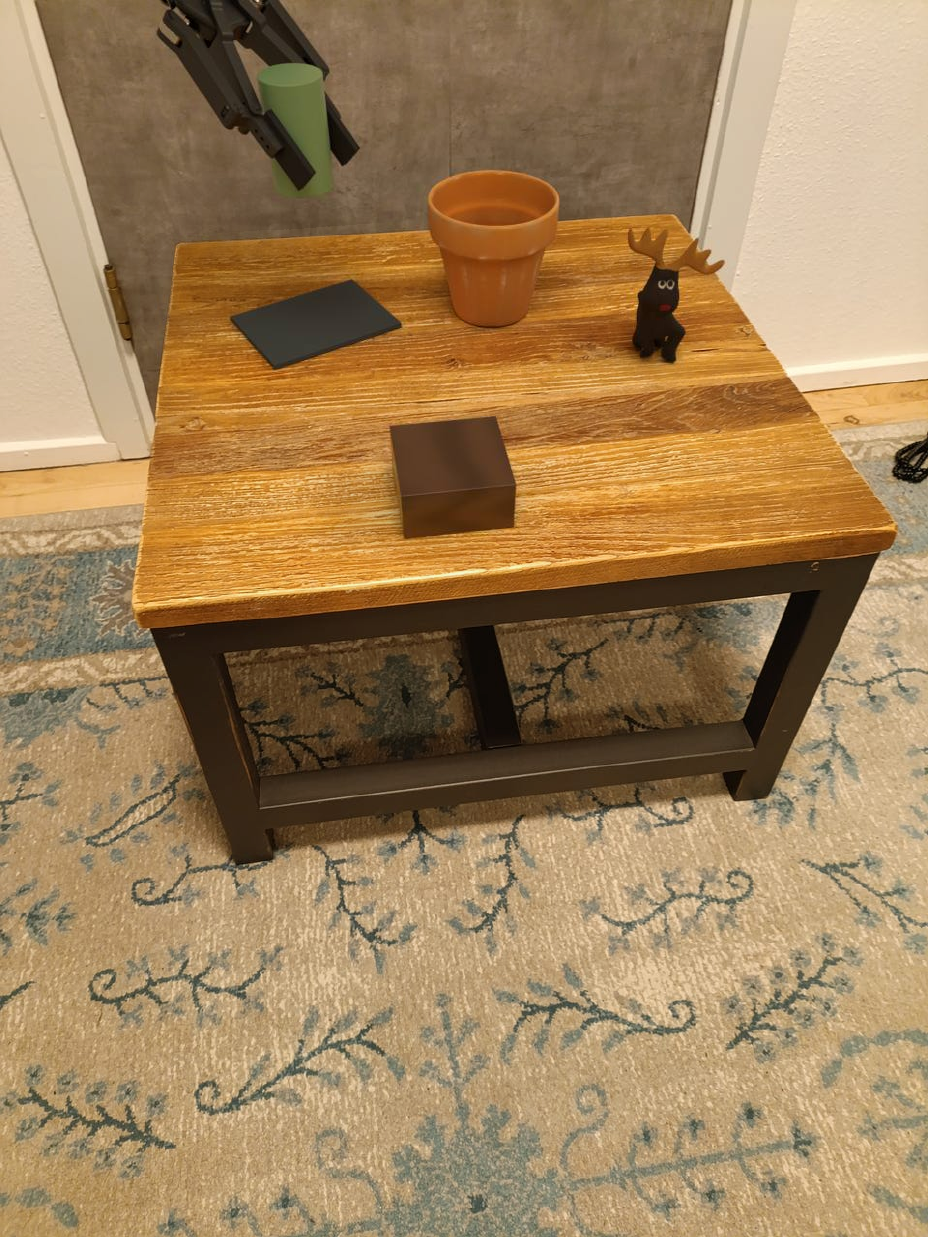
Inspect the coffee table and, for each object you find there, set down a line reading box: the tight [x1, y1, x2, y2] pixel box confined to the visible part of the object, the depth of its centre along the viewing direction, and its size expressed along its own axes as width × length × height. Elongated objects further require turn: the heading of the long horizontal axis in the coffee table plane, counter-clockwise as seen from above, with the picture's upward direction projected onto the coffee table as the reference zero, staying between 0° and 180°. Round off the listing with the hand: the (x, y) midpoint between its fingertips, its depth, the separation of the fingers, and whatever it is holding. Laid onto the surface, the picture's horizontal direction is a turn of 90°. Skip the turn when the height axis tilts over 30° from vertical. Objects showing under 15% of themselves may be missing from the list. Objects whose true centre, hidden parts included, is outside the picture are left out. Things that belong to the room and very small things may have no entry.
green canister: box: [256, 63, 335, 199], centre depth 86 cm, size 6×6×10 cm
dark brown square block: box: [389, 415, 517, 539], centre depth 82 cm, size 10×10×5 cm
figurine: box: [627, 227, 726, 363], centre depth 94 cm, size 11×7×15 cm
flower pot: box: [427, 169, 561, 328], centre depth 101 cm, size 14×14×13 cm
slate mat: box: [229, 278, 402, 371], centre depth 103 cm, size 16×12×1 cm
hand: (329, 168), depth 86 cm, fingers closed on green canister, 6 cm apart
